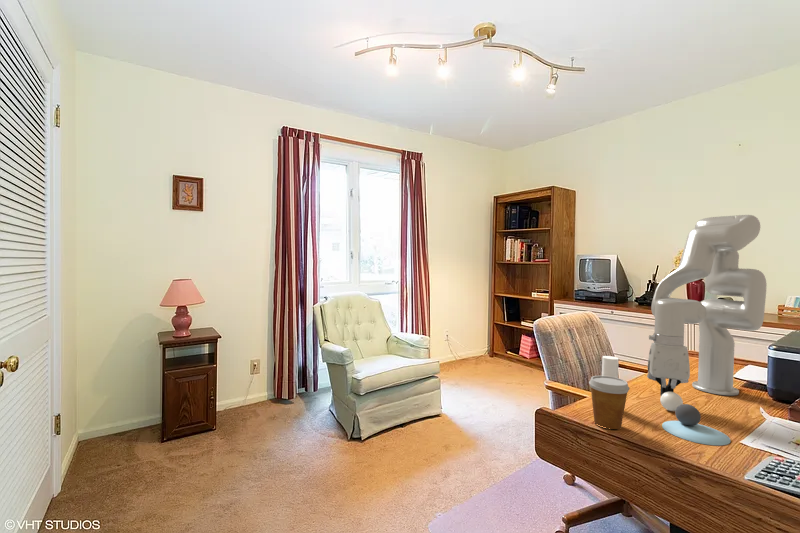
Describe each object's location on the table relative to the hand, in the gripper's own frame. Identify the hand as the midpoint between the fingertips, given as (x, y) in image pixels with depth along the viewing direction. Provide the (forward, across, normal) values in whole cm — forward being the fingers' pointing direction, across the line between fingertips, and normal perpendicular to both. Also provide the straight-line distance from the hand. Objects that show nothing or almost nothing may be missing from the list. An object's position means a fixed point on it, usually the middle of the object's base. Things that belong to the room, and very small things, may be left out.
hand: (666, 399), depth 120 cm
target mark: (+2, 0, -21) cm, 21 cm away
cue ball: (-1, 0, -6) cm, 6 cm away
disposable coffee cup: (+2, -21, -24) cm, 32 cm away
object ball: (-1, 0, -16) cm, 16 cm away
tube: (+2, -18, -10) cm, 20 cm away
